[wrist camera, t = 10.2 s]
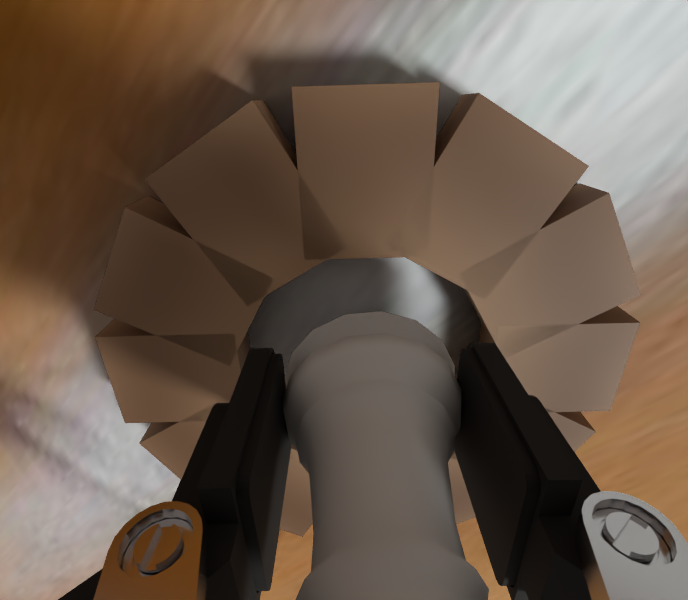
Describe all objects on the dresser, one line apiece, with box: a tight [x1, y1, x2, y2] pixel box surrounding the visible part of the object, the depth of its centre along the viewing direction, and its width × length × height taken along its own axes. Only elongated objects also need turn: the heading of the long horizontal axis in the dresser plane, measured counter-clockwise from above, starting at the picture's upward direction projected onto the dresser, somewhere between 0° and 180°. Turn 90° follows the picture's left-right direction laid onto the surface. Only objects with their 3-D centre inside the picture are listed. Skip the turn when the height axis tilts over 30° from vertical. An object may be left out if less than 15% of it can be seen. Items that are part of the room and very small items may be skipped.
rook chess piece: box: [283, 311, 489, 600], centre depth 7 cm, size 4×4×8 cm
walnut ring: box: [94, 82, 641, 537], centre depth 11 cm, size 14×14×1 cm
